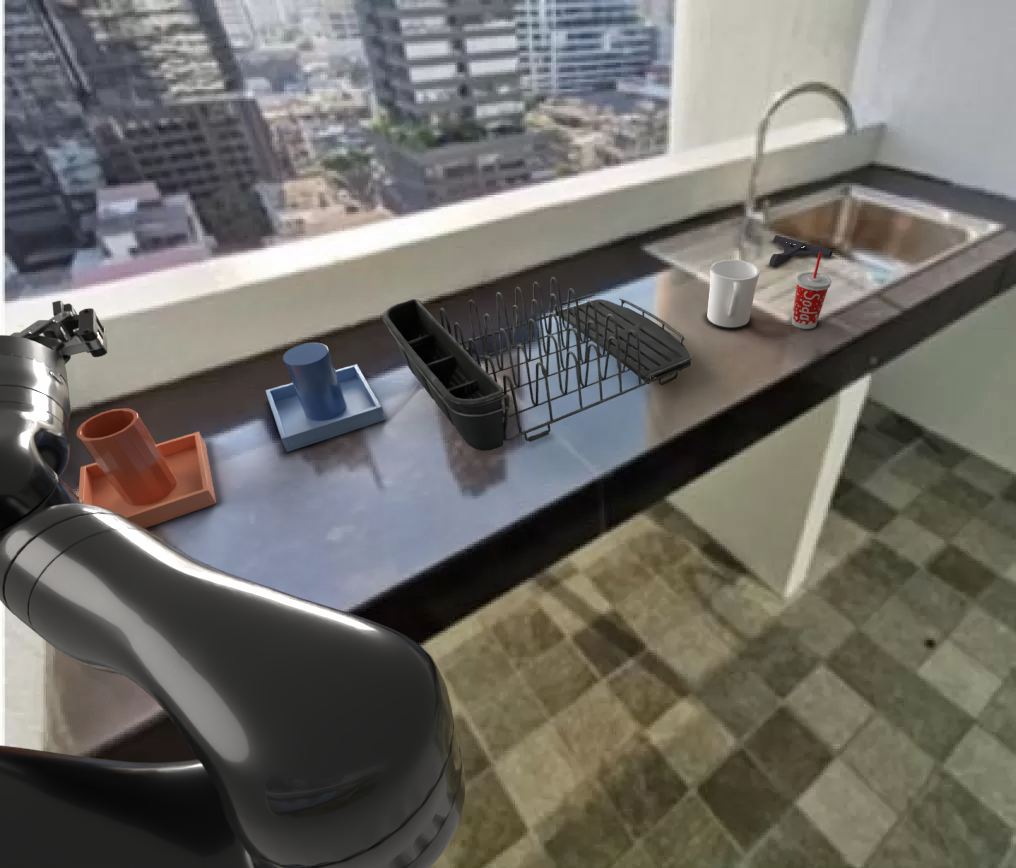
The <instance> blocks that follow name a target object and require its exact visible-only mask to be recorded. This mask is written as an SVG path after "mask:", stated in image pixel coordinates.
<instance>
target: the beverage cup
mask: <svg viewBox="0 0 1016 868" xmlns="http://www.w3.org/2000/svg"><path fill="white" fill-rule="evenodd" d="M821 254H822V252H819V255H817V260H816V263H815V268H814V271H813V272H812V271H805V272H801V273H799V274H797V276H796V280H795V282H796V287H795V288H796V289H795V296H794V302H793V309H792V310H793V311H792V316H791V324H792V325H793V327H796V328H799V329H804V330H810V329H814V328H816V327H817V323H818V321H819V317H820V315H821V312H822V309H823V305H824V302H825V300H826V296H827V293H828V290H829V289H830V287H831V284H832V282H833V281H832V278H831V277H830V276H828V275H826V274H824V273H821V272H818V271H819V266H820V262H821V258H822V256H821Z"/></svg>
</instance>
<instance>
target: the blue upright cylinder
mask: <svg viewBox="0 0 1016 868" xmlns="http://www.w3.org/2000/svg"><path fill="white" fill-rule="evenodd" d="M282 360H283V363H284V365H285V368H286V371H287V373H288V376H289V378H290V381H291V383H293V386H294V388H295V391H296V393H297V396H298V398H299V401H300V403H301V406H302V408H303V411H304V414H305V416H306V417H307V418H308V419H311V420H314V421H323V420H328V419H332V418H334V417H336V416H338V415H340V414H341V413H342V412H343V411H344V410H345V409H346V406H347V403H346V400H345V397H344V394H343V391H342V388H341V385H340V382H339V379H338V376H337V373H336V370H337V369H336V368H335V365H334V362H333V359H332V356H331V352H330V351H329V348H328V346H327V345H325V344H323V343H319V342H309V343H308V342H307V343H302V344H298V345H296V346H294V347H292V348H290V349H288V350H287V351H286V352H284V355H283V357H282Z"/></svg>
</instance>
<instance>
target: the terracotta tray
mask: <svg viewBox="0 0 1016 868" xmlns="http://www.w3.org/2000/svg"><path fill="white" fill-rule="evenodd" d="M156 444H157V446H158V447H159V449H160V451H161V452H162V454H163V456H164V457H165V459H166V460H167V462H168V464H169V465H170V467H171V469H172V470H173V472H174V474H175V476H176V478H177V484H176V486H175V488H174V489H173V490H172V491H171V492H170V493H169V494H168V495H166V496H165V497H163V498H161V499H159V500H157V501H155V502H152V503H149V504H145V505H138V506H134V505H129V504H127V503H125V502H124V501H123V499H122V498H121V497H120V496H119V494H118V493H117V492H116V490H115V489H114V487H113V486H112V485H111V483H110V482H109V480H108V479H107V478H106V476H105V475H104V473H103V472H102V471H101V469H100V468H99V466H98V465H97V464H96V462H92V463H90V464H86V465H83V466H80V470H79V483H78V484H79V485H78V495H77V496H78V497H79V498H80V500H81V501H82V502H83V503H84V504H90V505H96V506H100V507H103V508H106V509H109V510H111V511H114V512H116V513H118V514H120V515H122V516H124V517H126V518H128V519H129V520H131V521H132V522H134V523H136V524H138V525H139V526H141V527H143V528H144V529H147V528H151V527H153V526H156V525H159V524H161V523H164V522H167V521H170V520H173V519H176V518H179V517H181V516H185V515H188V514H191V513H193V512H196V511H199V510H203V509H205V508H208V507H210V506H213V505H216V504H217V499H216V494H215V488H214V482H213V478H212V471H211V465H210V460H209V454H208V449H207V444H206V442H205V441H204V438H203V437H202V435H201V433H200V431H195V432H193V433H189V434H186V435H183V436H180V437H176V438H172V439H169V440H166V441H162V442H159V443H156Z"/></svg>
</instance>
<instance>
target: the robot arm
mask: <svg viewBox="0 0 1016 868" xmlns="http://www.w3.org/2000/svg"><path fill="white" fill-rule="evenodd" d="M51 304H52V313H53V317H51V318H49V319H38V320H36V321H35V322H33V323H31V324H30V325H29V326H27V327H25V328H24V329H23V330H21V331H19V332H17V331H16V332H13V333H11V334H9V335H7V334H0V603H2V605H3V606H4V607H5V608H6V609H7V610H9V612H10V613H11V614H13V616H15V617H16V618H17V619H18V620H19V621H20V622H22V623H23V624H25V626H27V627H28V628H29V629H30V630H31V631H33V632H34V633H35V634H36V635H38V636H39V637H40V638H42V639H43V640H44V641H45V642H46V643H48V644H49V645H50V646H52V647H53V648H54V649H56V650H57V651H59V652H60V653H62V654H63V655H65V656H67V657H68V658H69V659H72V660H74V661H75V662H77V663H79V664H82V665H84V666H87V667H89V668H91V669H93V670H97V671H100V672H105V673H110V674H115V675H120V676H123V677H125V678H127V679H128V680H130V681H132V682H133V683H135V684H136V685H137V686H138V687H140V688H141V689H142V690H143V691H144V692H145V693H147V695H149V696H150V697H151V698H152V699H153V700H154V701H155V702H156V703H157V704H158V706H160V707H161V709H162V710H163V711H164V712H165V714H166V715H167V717H169V719H170V721H171V722H172V723H173V725H174V726H175V727H176V728H177V730H178V732H179V733H180V734H181V736H182V737H183V739H184V741H185V742H186V743H187V744H188V746H189V748H190V749H191V751H192V752H193V753H194V755H195V757H196V758H197V759H188V760H180V761H165V762H164V761H163V762H140V761H139V762H138V761H123V760H113V759H107V758H105V759H104V758H96V757H89V756H83V755H74V754H66V753H60V752H53V751H47V750H39V749H33V748H25V747H18V746H9V745H3V744H2V745H1V744H0V868H432V867H433V866H434V865H435V863H436V862H437V861H438V860H439V859H440V857H441V856H443V853H444V852H445V851H446V849H447V848H448V846H449V845H450V843H451V842H452V839H453V838H454V836H455V834H456V831H457V830H458V826H459V824H460V822H461V819H462V817H463V812H464V808H465V801H466V775H465V774H466V773H465V768H464V762H463V755H462V751H461V747H460V743H459V737H458V734H457V732H458V731H457V729H456V723H455V719H454V714H453V708H452V704H451V699H450V695H449V692H448V691H449V690H448V687H447V685H446V682H445V679H444V678H443V676H442V673H441V671H440V669H439V667H438V665H437V663H436V661H435V659H433V657H432V656H431V655H430V654H429V653H428V652H427V651H426V650H425V649H424V648H423V646H421V645H420V644H419V643H418V642H416V641H415V640H413V639H412V638H410V637H408V636H407V635H405V634H403V633H401V632H399V631H397V630H395V629H394V628H391V627H388V626H385V625H384V624H381V623H379V622H375V621H373V620H370V619H368V618H365V617H362V616H359V615H356V614H353V613H350V612H347V611H345V610H342V609H338V608H335V607H332V606H328V605H326V604H322V603H319V602H316V601H311V600H308V599H306V598H303V597H299V596H295V595H294V594H293V595H292V594H290V593H287V592H284V591H281V590H279V589H276V588H273V587H270V586H268V585H267V586H266V585H263V584H260V583H257V582H255V581H252V580H249V579H246V578H243V577H241V576H238V575H235V574H232V573H229V572H226V571H224V570H221V569H220V568H217V567H214V566H212V565H210V564H208V563H205V562H203V561H201V560H199V559H197V558H196V557H193V556H191V555H190V554H188V553H186V552H185V551H182V550H180V549H179V548H177V547H176V546H174V545H172V544H171V543H169V542H167V541H166V540H164V539H162V538H161V537H159V536H157V535H156V534H155V533H152V532H151V531H149V530H148V529H147V528H143V527H141V526H139V525H138V524H136V523H134V522H132V521H131V520H129V519H128V518H126V517H124V516H122V515H120V514H118V513H116V512H114V511H111V510H109V509H106V508H103V507H100V506H96V505H90V504H84V503H83V502H82V501H81V500H80V498H79V497H78V496H79V495H77V494H76V493H75V491H73V490H72V489H71V487H70V486H69V485H68V484H67V483H66V482H65V481H64V480H63V479H62V478H61V477H62V475H63V474H64V473H65V471H66V469H67V467H68V465H69V462H70V456H71V435H70V426H69V424H70V420H71V413H72V410H71V400H70V391H69V390H70V389H69V380H68V373H67V368H66V367H67V366H66V364H68V363H69V362H70V360H71V358H72V356H74V355H79V354H82V353H87V354H90V355H91V356H92V357H93V358H100V357H103V356H105V355H107V354H108V336H107V329H106V328H105V326H103V324H102V322H101V320H100V319H99V317H98V316H97V313H96V311H95V309H94V308H90V307H89V308H84V309H81V310H80V311H78V312H77V311H76V309H75V308H74V306H73V304H71V303H65V304H64V303H63V301H62V300H61V299H60V300H57V301H52V302H51ZM64 333H65V334H64Z"/></svg>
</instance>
